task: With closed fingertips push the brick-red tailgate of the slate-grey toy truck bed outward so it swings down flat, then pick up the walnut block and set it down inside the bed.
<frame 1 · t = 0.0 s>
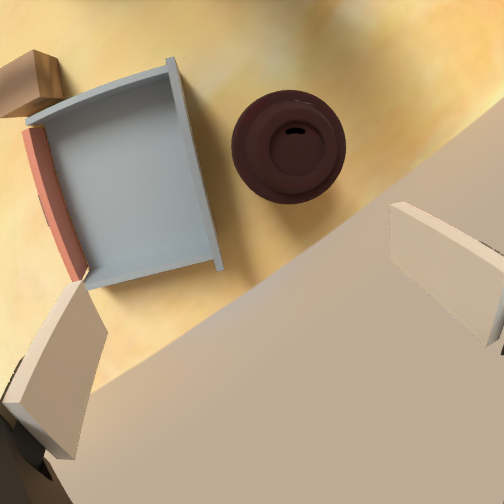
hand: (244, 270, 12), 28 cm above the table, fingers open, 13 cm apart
walnut block: (41, 87, 29), on the table
coffee cup: (261, 138, 37), on the table
truck bed: (128, 175, 36), on the table
tailgate: (53, 205, 32), point 4 cm above the table, hinge at -6.0°
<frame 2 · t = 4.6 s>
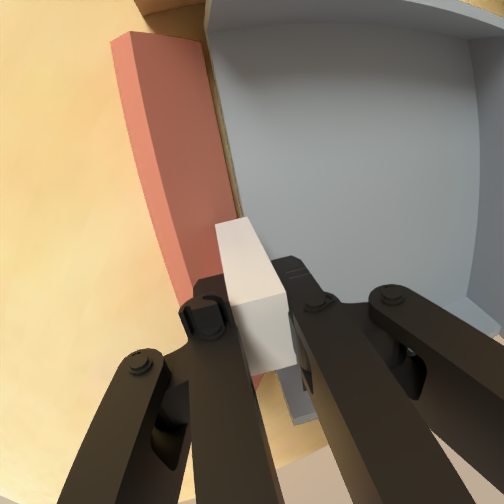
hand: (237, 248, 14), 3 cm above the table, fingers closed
truck bed: (384, 190, 18), on the table
tailgate: (205, 251, 15), point 3 cm above the table, hinge at 31.3°, touching gripper
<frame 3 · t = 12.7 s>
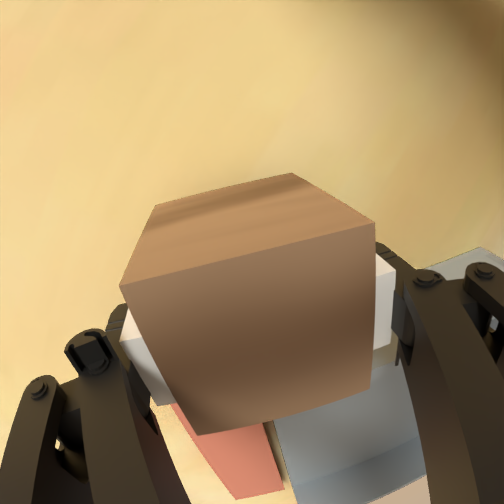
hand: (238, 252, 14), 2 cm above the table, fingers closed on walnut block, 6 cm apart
walnut block: (238, 251, 14), point 1 cm above the table, touching gripper
truck bed: (379, 393, 23), on the table
tailgate: (236, 447, 21), point 1 cm above the table, hinge at 90.4°
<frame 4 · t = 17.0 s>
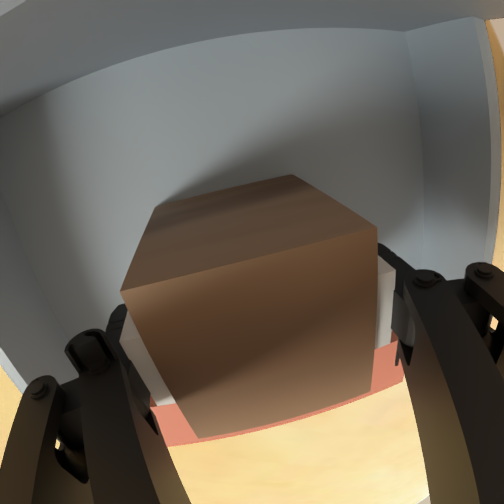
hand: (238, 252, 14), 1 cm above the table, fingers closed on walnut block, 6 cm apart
walnut block: (238, 252, 14), point 1 cm above the table, touching gripper, truck bed
truck bed: (229, 220, 15), on the table
tailgate: (272, 399, 19), point 1 cm above the table, hinge at 90.4°
when the fingers open (1 cm above the table, at t = 17.1 s): walnut block stays where it is, resting on truck bed.
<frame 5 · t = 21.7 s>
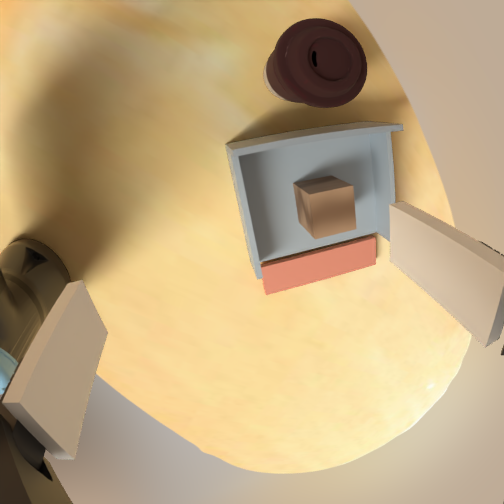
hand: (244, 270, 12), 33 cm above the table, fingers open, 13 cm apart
walnut block: (315, 198, 45), point 1 cm above the table, touching truck bed
coffee cup: (287, 76, 39), on the table
truck bed: (310, 189, 46), on the table
tailgate: (321, 264, 50), point 1 cm above the table, hinge at 90.4°
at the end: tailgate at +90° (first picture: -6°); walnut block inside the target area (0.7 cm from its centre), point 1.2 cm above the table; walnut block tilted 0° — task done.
